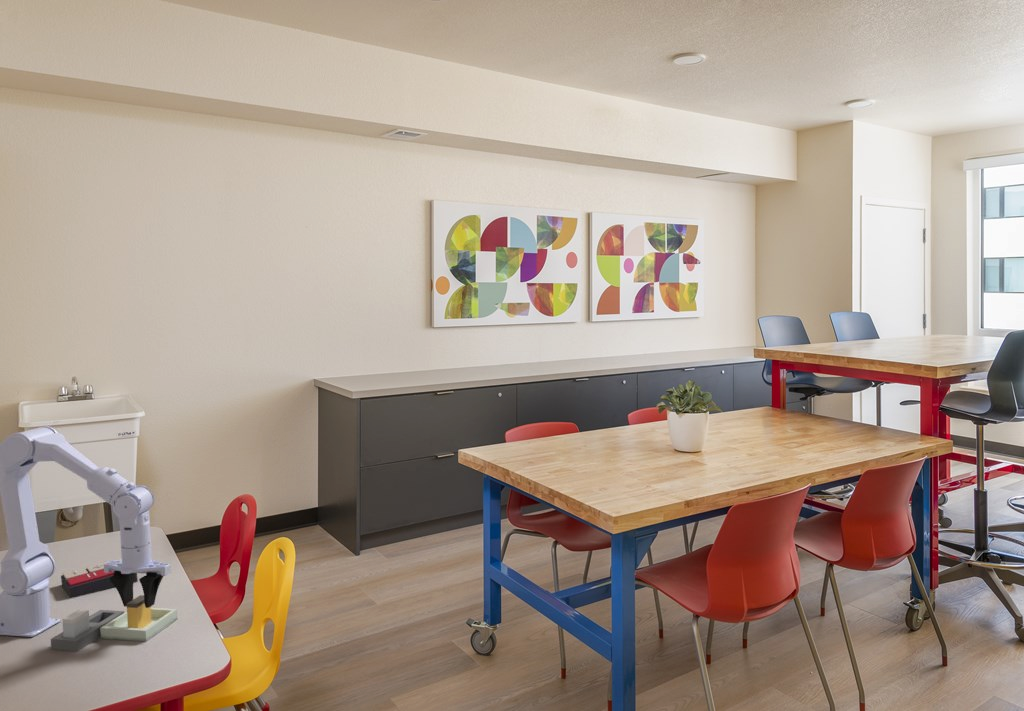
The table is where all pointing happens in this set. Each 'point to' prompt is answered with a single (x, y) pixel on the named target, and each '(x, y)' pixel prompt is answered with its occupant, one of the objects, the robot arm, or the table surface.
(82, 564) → the table surface
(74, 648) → the block
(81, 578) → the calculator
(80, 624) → the block
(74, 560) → the table surface
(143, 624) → the yellow rectangular block
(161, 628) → the parts tray
